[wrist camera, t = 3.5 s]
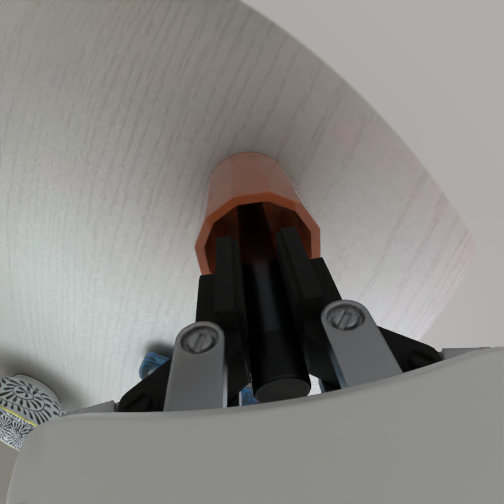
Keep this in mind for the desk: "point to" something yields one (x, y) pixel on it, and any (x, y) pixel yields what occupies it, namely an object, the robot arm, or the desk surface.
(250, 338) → the stylus
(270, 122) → the desk surface
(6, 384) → the bowl
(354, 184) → the desk surface
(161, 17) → the desk surface
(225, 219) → the pen pot
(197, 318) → the robot arm
